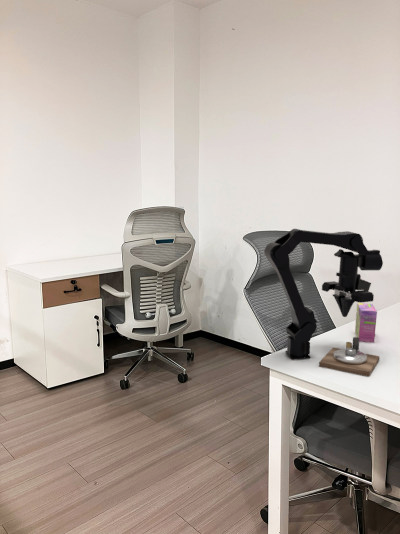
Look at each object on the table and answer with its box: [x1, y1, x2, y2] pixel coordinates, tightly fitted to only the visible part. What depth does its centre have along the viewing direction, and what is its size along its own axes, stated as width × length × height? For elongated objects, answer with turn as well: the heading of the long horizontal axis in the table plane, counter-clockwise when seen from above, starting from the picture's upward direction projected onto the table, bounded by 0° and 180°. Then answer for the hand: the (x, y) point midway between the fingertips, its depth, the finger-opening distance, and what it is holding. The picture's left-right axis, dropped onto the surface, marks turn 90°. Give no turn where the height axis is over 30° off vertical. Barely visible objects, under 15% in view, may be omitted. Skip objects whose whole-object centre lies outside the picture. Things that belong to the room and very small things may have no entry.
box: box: [354, 302, 378, 343], centre depth 173 cm, size 10×6×12 cm, turn 168°
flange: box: [334, 336, 367, 364], centre depth 149 cm, size 12×10×5 cm
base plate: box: [318, 341, 380, 378], centre depth 148 cm, size 15×15×4 cm
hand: (344, 316), depth 156 cm, fingers closed
